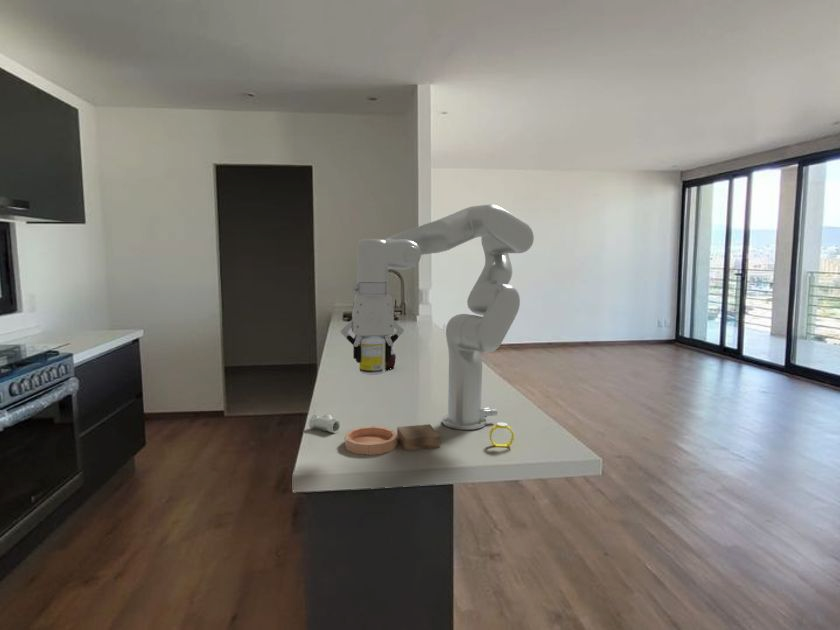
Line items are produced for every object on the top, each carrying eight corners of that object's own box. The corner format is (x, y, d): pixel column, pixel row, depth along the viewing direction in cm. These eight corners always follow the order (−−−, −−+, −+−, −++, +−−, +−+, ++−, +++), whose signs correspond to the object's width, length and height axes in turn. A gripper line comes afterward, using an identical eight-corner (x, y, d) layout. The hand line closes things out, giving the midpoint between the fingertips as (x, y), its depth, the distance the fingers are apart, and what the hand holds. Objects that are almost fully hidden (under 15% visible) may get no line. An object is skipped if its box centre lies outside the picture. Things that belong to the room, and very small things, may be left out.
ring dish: (390, 433, 137) (390, 424, 137) (401, 451, 125) (401, 441, 125) (342, 438, 134) (342, 428, 134) (348, 456, 121) (348, 446, 121)
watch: (511, 445, 130) (514, 423, 130) (513, 449, 128) (515, 426, 127) (488, 443, 131) (490, 421, 130) (489, 447, 128) (491, 424, 127)
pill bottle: (374, 368, 131) (374, 324, 130) (390, 372, 127) (391, 326, 126) (354, 372, 127) (354, 326, 126) (370, 376, 122) (370, 329, 121)
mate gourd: (376, 369, 214) (376, 334, 212) (382, 366, 221) (382, 332, 219) (394, 370, 212) (394, 335, 210) (398, 366, 220) (398, 332, 218)
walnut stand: (429, 435, 137) (429, 424, 136) (439, 447, 128) (439, 435, 128) (397, 438, 134) (397, 427, 134) (405, 450, 126) (405, 438, 125)
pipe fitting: (324, 424, 146) (308, 430, 140) (325, 411, 146) (309, 416, 140) (347, 429, 142) (331, 435, 136) (347, 416, 142) (332, 420, 136)
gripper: (339, 290, 119) (339, 365, 121) (410, 290, 124) (409, 362, 126) (335, 288, 126) (335, 359, 128) (403, 288, 131) (402, 357, 133)
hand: (372, 360), depth 127 cm, fingers closed on pill bottle, 6 cm apart
